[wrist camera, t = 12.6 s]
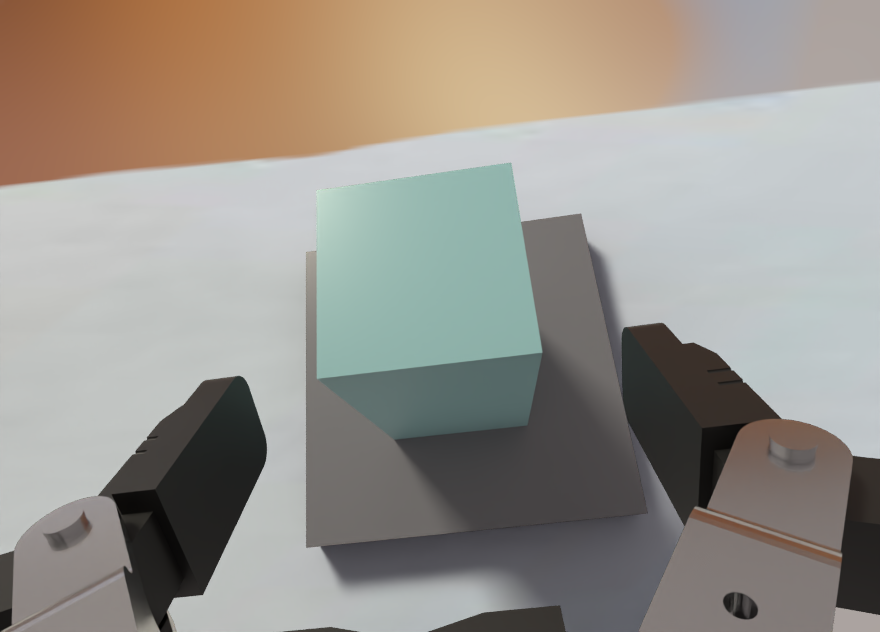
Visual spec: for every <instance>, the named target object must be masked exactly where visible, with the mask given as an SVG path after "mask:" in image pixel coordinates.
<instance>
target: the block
mask: <svg viewBox="0 0 880 632" xmlns="http://www.w3.org/2000/svg"><path fill="white" fill-rule="evenodd" d="M316 197H317V379H318V380H319V381H320V382H321V383H323V384H324V385H325V386H326V387H328V388H329V389H330V390H332V391H333V392H334V393H335V394H337V395H338V396H339V397H340V398H342V399H343V400H344V401H346V402H347V403H348V404H349V405H351V406H352V407H353V408H355V409H356V410H357V411H358V412H360V413H361V414H362V415H363V416H365V417H366V418H367V419H369V420H370V421H371V422H372V423H374V424H375V425H376V426H377V427H379V428H380V429H381V430H383V431H384V432H385V433H386V434H388V435H389V436H390V437H391V438H393V439H394V440H396V439H406V438H415V437H424V436H434V435H443V434H453V433H462V432H471V431H481V430H490V429H499V428H509V427H518V426H527V425H528V420H529V415H530V410H531V406H532V401H533V396H534V391H535V386H536V382H537V377H538V372H539V367H540V362H541V357H542V353H543V352H542V346H541V340H540V334H539V328H538V322H537V316H536V310H535V304H534V298H533V292H532V286H531V280H530V274H529V268H528V262H527V256H526V250H525V244H524V237H523V231H522V225H521V219H520V213H519V207H518V201H517V195H516V189H515V183H514V177H513V171H512V165H511V163H505V164H498V165H491V166H484V167H477V168H470V169H463V170H456V171H449V172H442V173H435V174H428V175H421V176H414V177H407V178H400V179H393V180H386V181H379V182H372V183H365V184H358V185H351V186H344V187H337V188H330V189H323V190H316Z"/></svg>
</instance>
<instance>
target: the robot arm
mask: <svg viewBox="0 0 880 632" xmlns="http://www.w3.org/2000/svg"><path fill="white" fill-rule="evenodd" d="M622 388H623V402H624V408H625V412H626V416H627V419H628V422H629V424H630V426H631V428H632V430H633V431H634V433H635V435H636V437H637V439H638V441H639V443H640V444H641V446H642V448H643V450H644V452H645V454H646V456H647V457H648V459H649V461H650V463H651V465H652V467H653V469H654V470H655V472H656V474H657V476H658V478H659V480H660V482H661V483H662V485H663V487H664V489H665V491H666V493H667V495H668V497H669V498H670V500H671V502H672V504H673V506H674V508H675V510H676V511H677V513H678V515H679V517H680V519H681V521H682V523H683V524H684V526H685V527H684V529H683V532H682V534H681V536H680V538H679V541H678V543H677V545H676V547H675V550H674V552H673V554H672V557H671V559H670V561H669V563H668V566H667V568H666V570H665V572H664V575H663V577H662V579H661V581H660V584H659V586H658V588H657V590H656V593H655V595H654V597H653V599H652V602H651V604H650V606H649V608H648V611H647V613H646V615H645V617H644V620H643V622H642V624H641V626H640V629H639V631H638V632H832V630H833V623H834V615H835V608H836V607H839V608H844V609H850V610H856V611H861V612H866V613H872V614H878V615H880V459H875V458H865V457H857V456H852V454H851V451H850V450H849V448H848V447H847V446H846V445H845V444H844V443H843V442H842V441H841V440H840V439H839V438H837V437H836V436H835V435H833V434H831V433H829V432H828V431H826V430H823V429H821V428H819V427H816V426H813V425H811V424H807V423H803V422H799V421H794V420H787V419H781V418H780V417H779V416H778V415H777V414H776V413H775V412H774V411H773V410H772V409H771V408H770V407H769V406H768V405H767V404H766V403H765V402H764V401H763V400H762V399H761V398H760V397H759V396H758V395H757V394H756V393H755V392H754V391H753V390H752V389H751V388H750V387H749V386H748V385H747V384H746V383H743V381H742V379H741V378H740V377H739V376H738V375H737V374H736V373H735V372H734V371H731V368H730V367H729V366H728V364H727V363H726V362H725V361H724V360H723V359H722V358H721V357H720V356H719V355H718V354H717V353H714V352H712V351H710V350H708V349H706V348H704V347H702V346H700V345H698V344H695V343H687V344H682V343H681V342H680V341H679V340H678V338H677V337H676V336H675V335H674V334H673V333H672V332H671V331H670V330H669V328H668V327H667V326H666V325H665V324H664V323H655V324H647V325H639V326H632V327H625V328H624V329H623V332H622ZM266 455H267V444H266V438H265V434H264V431H263V428H262V425H261V422H260V419H259V416H258V413H257V410H256V407H255V404H254V401H253V398H252V395H251V392H250V389H249V386H248V384H247V382H246V380H245V379H244V378H243V377H241V376H235V377H227V378H220V379H212V380H205V381H203V382H202V383H201V384H200V386H199V387H198V388H197V389H196V391H195V392H194V393H193V394H192V395H191V397H190V398H189V399H188V400H187V402H186V403H185V404H184V405H183V406H181V407H180V408H178V409H177V410H175V411H174V412H173V413H171V414H170V415H169V416H167V417H166V418H164V419H163V420H162V421H160V423H159V424H158V425H157V426H156V427H155V429H154V430H153V431H152V432H151V433H150V434H149V436H148V437H147V440H146V441H144V442H143V443H142V444H141V445H140V446H139V448H138V449H137V450H136V454H134V455H132V456H131V457H130V458H129V459H128V461H127V462H126V463H125V464H124V465H123V466H122V468H121V469H120V470H119V471H118V472H117V474H116V475H115V476H114V477H113V478H112V480H111V481H110V482H109V483H108V484H107V485H106V487H105V488H104V489H103V490H102V491H101V493H100V494H99V495H98V496H94V497H87V498H83V499H80V500H77V501H74V502H71V503H69V504H66V505H64V506H62V507H60V508H58V509H56V510H54V511H52V512H51V513H49V514H47V515H46V516H44V517H43V518H41V519H40V520H39V521H37V522H36V523H35V524H34V525H32V526H31V527H30V528H29V529H28V530H27V531H26V532H25V533H24V534H23V536H22V537H21V538H20V540H19V541H18V542H17V545H16V547H15V550H14V551H12V552H9V553H6V554H2V555H0V632H177V631H176V628H175V624H174V622H173V620H172V617H171V615H170V613H169V611H168V608H169V606H170V604H171V602H172V600H173V598H177V597H187V596H197V595H203V594H204V591H205V589H206V587H207V585H208V583H209V581H210V579H211V577H212V575H213V572H214V570H215V568H216V566H217V564H218V562H219V560H220V558H221V556H222V554H223V551H224V549H225V547H226V545H227V543H228V541H229V539H230V537H231V535H232V532H233V530H234V528H235V526H236V524H237V522H238V520H239V518H240V516H241V513H242V511H243V509H244V507H245V505H246V503H247V501H248V499H249V497H250V494H251V492H252V490H253V488H254V486H255V484H256V482H257V480H258V478H259V476H260V473H261V471H262V469H263V467H264V465H265V461H266ZM285 632H357V631H351V630H345V629H339V628H333V627H327V628H316V629H306V630H295V631H285ZM429 632H566V631H565V626H564V622H563V617H562V613H561V608H560V606H549V607H539V608H528V609H517V610H507V611H496V612H486V613H481V614H479V615H476V616H473V617H470V618H467V619H464V620H461V621H458V622H455V623H452V624H449V625H447V626H444V627H441V628H438V629H435V630H432V631H429Z"/></svg>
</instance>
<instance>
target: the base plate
mask: <svg viewBox="0 0 880 632" xmlns="http://www.w3.org/2000/svg"><path fill="white" fill-rule="evenodd" d="M521 225H522V231H523V237H524V244H525V250H526V256H527V262H528V268H529V274H530V280H531V286H532V292H533V298H534V304H535V310H536V316H537V322H538V328H539V334H540V340H541V346H542V352H543V353H542V357H541V362H540V367H539V372H538V377H537V382H536V386H535V391H534V396H533V401H532V406H531V410H530V415H529V420H528V425H527V426H518V427H509V428H499V429H490V430H481V431H471V432H462V433H453V434H443V435H434V436H424V437H415V438H406V439H396V440H394V439H393V438H391V437H390V436H389V435H388V434H386V433H385V432H384V431H383V430H381V429H380V428H379V427H377V426H376V425H375V424H374V423H372V422H371V421H370V420H369V419H367V418H366V417H365V416H363V415H362V414H361V413H360V412H358V411H357V410H356V409H355V408H353V407H352V406H351V405H349V404H348V403H347V402H346V401H344V400H343V399H342V398H340V397H339V396H338V395H337V394H335V393H334V392H333V391H332V390H330V389H329V388H328V387H326V386H325V385H324V384H323V383H321V382H320V381H319V380H318V379H317V251H311V252H306V548H308V547H318V546H328V545H338V544H348V543H358V542H368V541H378V540H388V539H398V538H408V537H417V536H427V535H437V534H447V533H457V532H467V531H477V530H487V529H497V528H507V527H517V526H527V525H537V524H547V523H557V522H567V521H577V520H586V519H596V518H606V517H616V516H626V515H636V514H646V513H648V512H647V507H646V503H645V498H644V494H643V489H642V485H641V480H640V476H639V471H638V467H637V462H636V458H635V453H634V449H633V444H632V440H631V435H630V431H629V426H628V422H627V417H626V413H625V408H624V404H623V400H622V395H621V391H620V386H619V382H618V377H617V373H616V368H615V364H614V359H613V355H612V350H611V346H610V341H609V337H608V332H607V328H606V323H605V319H604V314H603V310H602V305H601V301H600V296H599V292H598V287H597V283H596V278H595V274H594V270H593V265H592V261H591V256H590V252H589V247H588V243H587V238H586V234H585V229H584V225H583V220H582V216H581V214H575V215H567V216H560V217H553V218H546V219H539V220H532V221H525V222H521Z"/></svg>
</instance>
